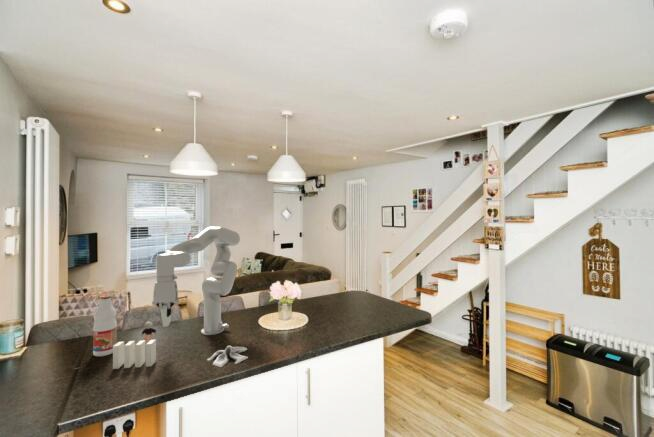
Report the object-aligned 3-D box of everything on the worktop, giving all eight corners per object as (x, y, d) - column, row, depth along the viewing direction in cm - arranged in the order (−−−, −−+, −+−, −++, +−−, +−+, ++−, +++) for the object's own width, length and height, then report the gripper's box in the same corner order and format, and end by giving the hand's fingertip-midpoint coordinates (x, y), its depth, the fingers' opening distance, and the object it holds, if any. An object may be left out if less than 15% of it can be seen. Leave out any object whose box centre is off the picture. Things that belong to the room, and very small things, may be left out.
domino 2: (135, 362, 138) (135, 340, 138) (129, 367, 133) (129, 345, 133) (129, 362, 137) (129, 341, 137) (124, 368, 132) (124, 345, 132)
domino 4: (156, 361, 139) (156, 339, 139) (151, 366, 134) (151, 343, 134) (150, 361, 139) (150, 339, 139) (146, 366, 134) (146, 344, 134)
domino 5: (171, 319, 151) (168, 303, 148) (167, 326, 147) (165, 309, 143) (166, 319, 151) (163, 303, 147) (163, 326, 146) (160, 309, 143)
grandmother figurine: (139, 348, 152) (139, 323, 152) (140, 346, 156) (140, 321, 156) (157, 345, 156) (157, 321, 156) (157, 343, 159) (157, 319, 159)
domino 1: (124, 363, 137) (124, 341, 137) (118, 368, 132) (118, 345, 132) (119, 363, 137) (119, 341, 137) (112, 368, 132) (112, 346, 132)
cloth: (244, 346, 156) (244, 334, 156) (254, 360, 140) (254, 347, 140) (198, 355, 146) (198, 343, 146) (203, 372, 129) (203, 358, 129)
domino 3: (145, 361, 138) (145, 340, 138) (140, 367, 133) (140, 344, 133) (140, 362, 138) (140, 340, 138) (135, 367, 133) (135, 344, 133)
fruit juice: (121, 350, 151) (121, 294, 151) (101, 358, 142) (101, 299, 142) (108, 347, 154) (108, 292, 154) (88, 354, 145) (88, 297, 146)
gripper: (184, 276, 152) (185, 313, 152) (151, 277, 149) (151, 314, 149) (180, 279, 144) (180, 318, 144) (144, 281, 142) (145, 319, 142)
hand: (165, 316), depth 147 cm, fingers closed on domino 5
